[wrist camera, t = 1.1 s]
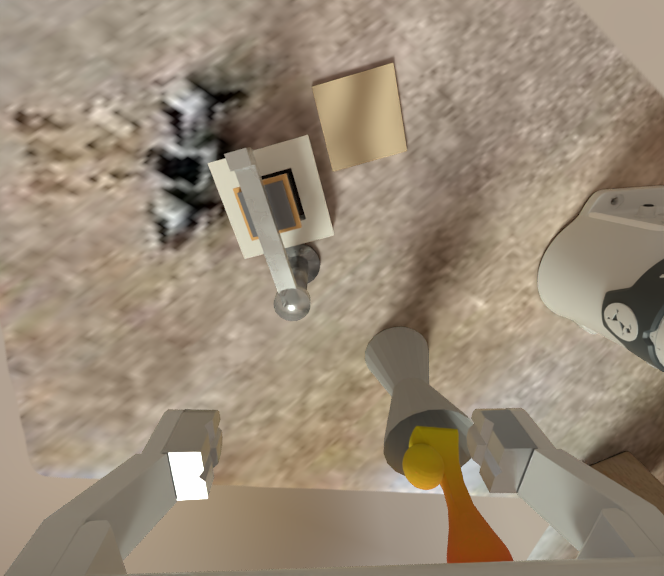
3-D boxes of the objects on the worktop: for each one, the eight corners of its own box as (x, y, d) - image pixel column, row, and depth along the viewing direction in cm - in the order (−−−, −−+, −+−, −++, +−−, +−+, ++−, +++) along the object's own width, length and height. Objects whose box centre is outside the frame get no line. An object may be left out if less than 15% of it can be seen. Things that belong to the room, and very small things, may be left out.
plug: (291, 168, 35) (284, 174, 28) (304, 212, 37) (301, 229, 30) (248, 180, 36) (230, 189, 28) (263, 223, 38) (250, 242, 30)
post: (313, 238, 38) (311, 266, 30) (324, 277, 40) (326, 314, 31) (271, 249, 39) (258, 280, 30) (285, 287, 41) (275, 327, 32)
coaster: (392, 63, 32) (393, 62, 32) (406, 150, 35) (407, 151, 35) (311, 87, 32) (311, 86, 32) (332, 171, 36) (332, 171, 35)
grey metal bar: (314, 310, 31) (314, 322, 29) (281, 319, 31) (278, 331, 29) (261, 144, 25) (256, 144, 23) (221, 156, 25) (213, 157, 23)
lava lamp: (437, 329, 44) (763, 832, 12) (420, 384, 47) (637, 888, 15) (370, 322, 43) (524, 842, 11) (358, 378, 47) (448, 897, 14)
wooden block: (568, 473, 56) (689, 633, 38) (627, 449, 54) (785, 604, 36) (583, 505, 60) (701, 665, 41) (640, 483, 58) (789, 641, 40)
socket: (308, 135, 34) (307, 134, 31) (333, 228, 38) (334, 235, 35) (216, 161, 35) (207, 163, 32) (249, 250, 39) (244, 259, 36)
